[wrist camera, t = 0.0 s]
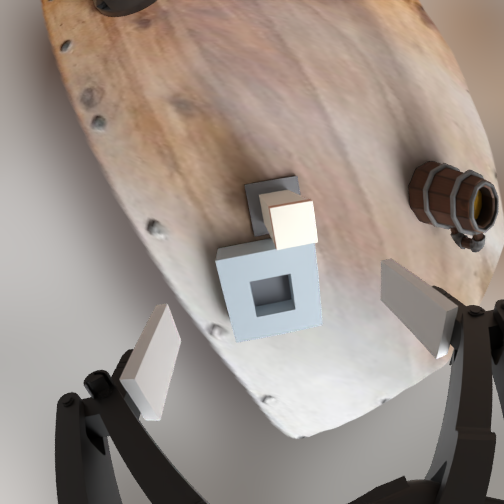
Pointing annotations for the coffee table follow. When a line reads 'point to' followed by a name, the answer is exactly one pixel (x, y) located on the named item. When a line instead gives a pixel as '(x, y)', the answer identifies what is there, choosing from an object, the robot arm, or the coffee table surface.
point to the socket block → (269, 288)
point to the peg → (288, 219)
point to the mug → (454, 202)
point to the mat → (263, 188)
